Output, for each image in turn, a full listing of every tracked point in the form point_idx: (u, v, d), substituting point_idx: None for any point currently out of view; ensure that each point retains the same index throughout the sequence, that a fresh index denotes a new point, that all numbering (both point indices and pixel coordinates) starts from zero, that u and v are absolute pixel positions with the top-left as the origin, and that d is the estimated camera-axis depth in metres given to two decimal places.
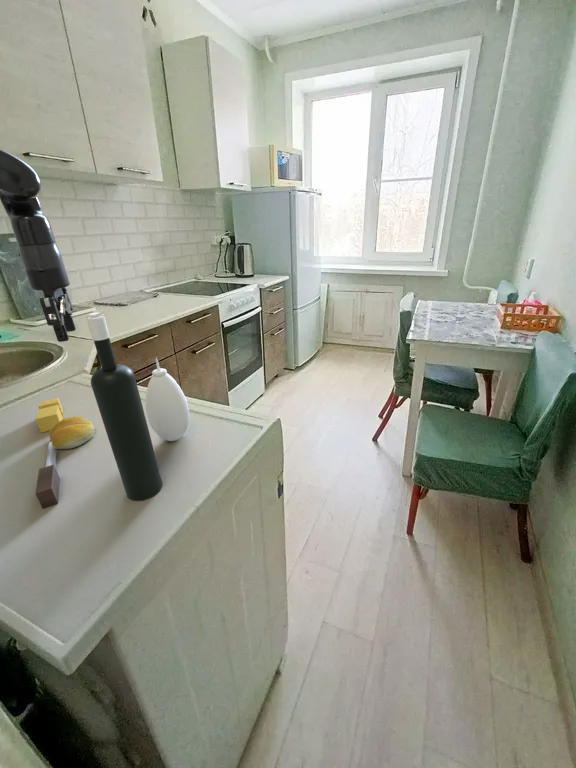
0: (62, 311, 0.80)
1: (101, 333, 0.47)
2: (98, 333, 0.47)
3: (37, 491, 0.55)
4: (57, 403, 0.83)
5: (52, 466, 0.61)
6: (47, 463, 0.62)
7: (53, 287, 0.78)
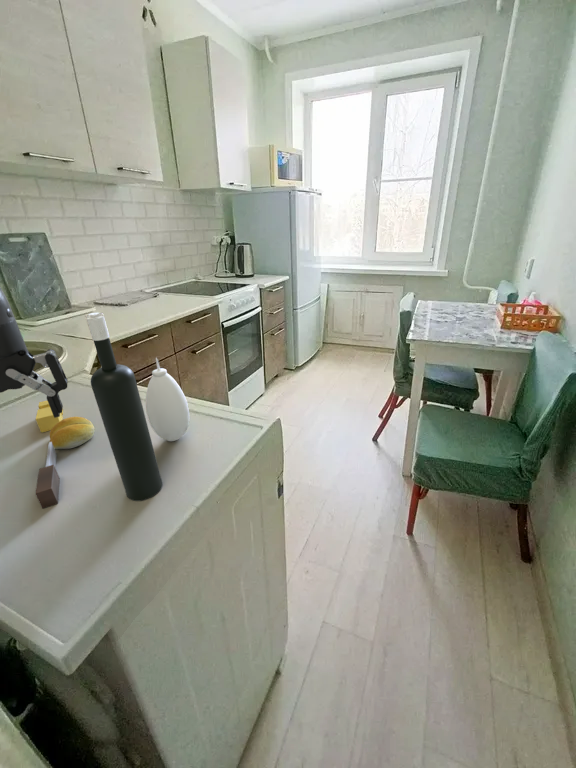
0: None
1: (101, 333, 0.47)
2: (98, 333, 0.47)
3: (37, 491, 0.55)
4: None
5: (52, 466, 0.61)
6: (47, 463, 0.62)
7: None
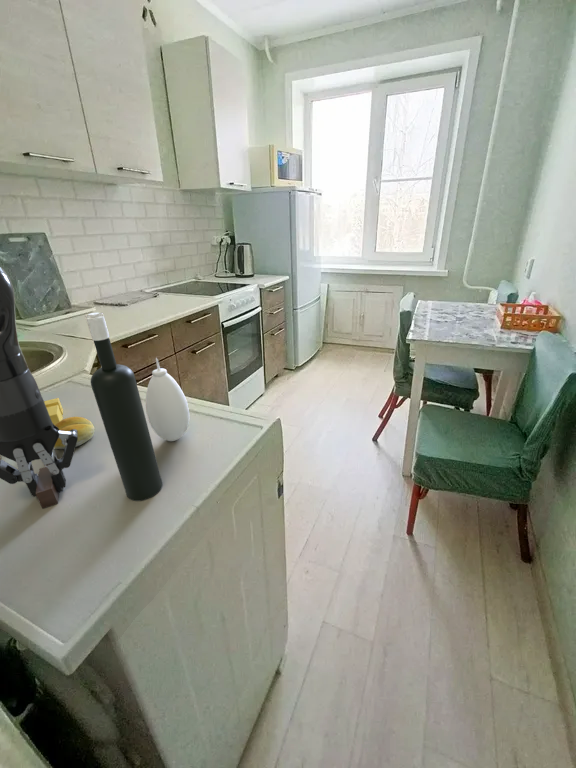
0: (19, 469, 0.54)
1: (101, 333, 0.47)
2: (98, 333, 0.47)
3: (37, 491, 0.55)
4: (57, 403, 0.83)
5: None
6: None
7: None
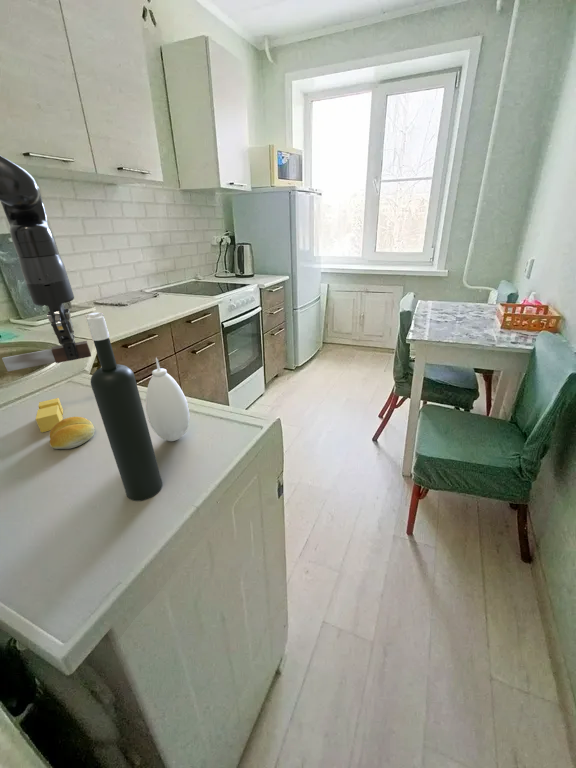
0: (71, 329, 0.76)
1: (101, 333, 0.47)
2: (98, 333, 0.47)
3: (85, 343, 0.79)
4: (57, 403, 0.83)
5: (54, 346, 0.78)
6: (45, 350, 0.77)
7: (60, 302, 0.72)
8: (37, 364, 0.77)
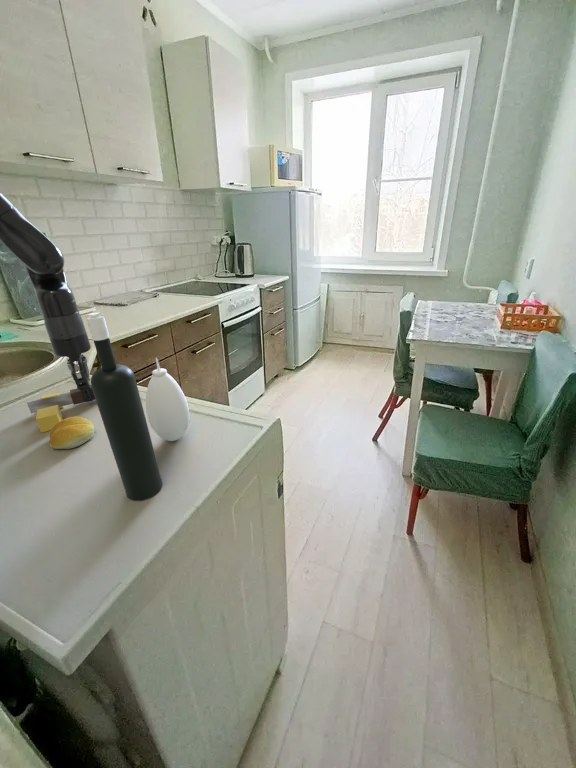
0: (88, 375, 0.85)
1: (101, 333, 0.47)
2: (98, 333, 0.47)
3: None
4: None
5: (72, 389, 0.87)
6: (64, 393, 0.86)
7: (79, 353, 0.81)
8: None
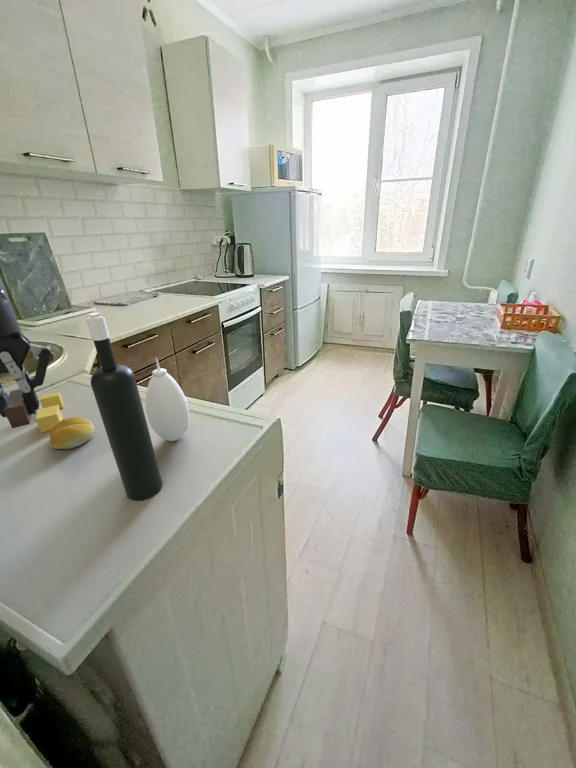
0: None
1: (101, 333, 0.47)
2: (98, 333, 0.47)
3: (6, 407, 0.50)
4: (58, 396, 0.86)
5: None
6: None
7: None
8: None
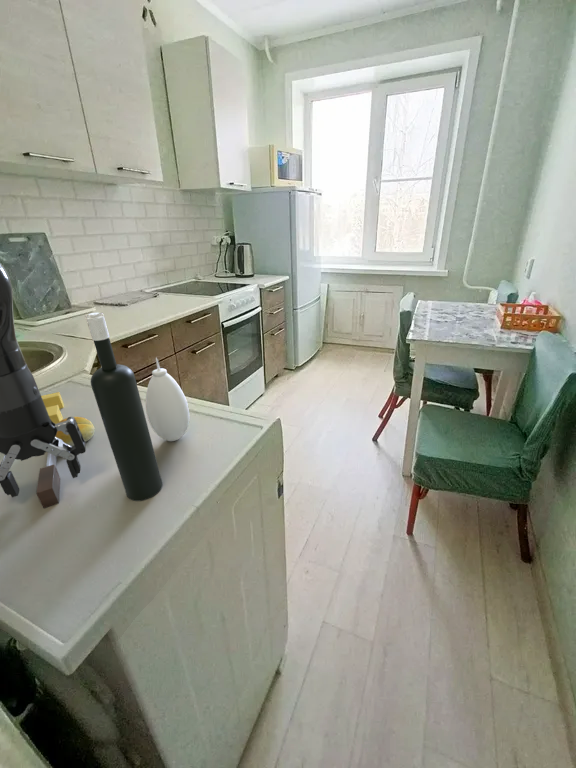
0: (2, 464, 0.53)
1: (101, 333, 0.47)
2: (98, 333, 0.47)
3: (38, 491, 0.55)
4: (58, 397, 0.86)
5: (53, 466, 0.61)
6: (48, 463, 0.62)
7: None
8: None
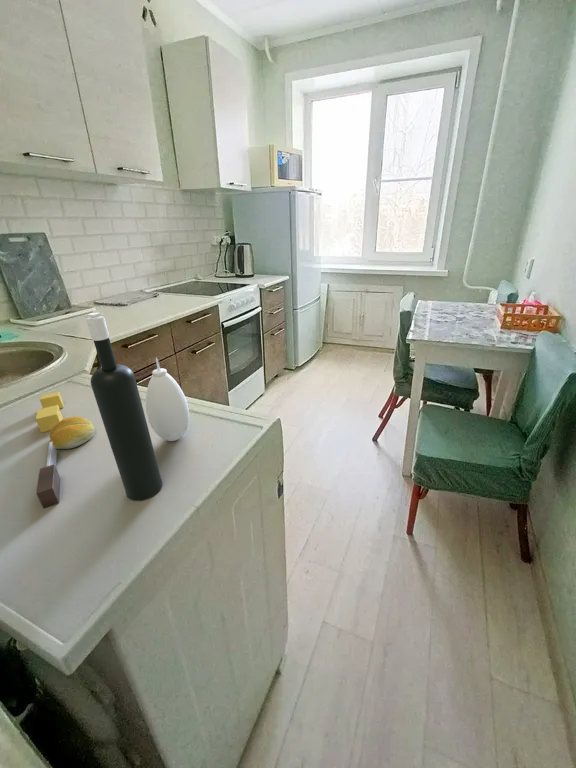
0: None
1: (101, 333, 0.47)
2: (98, 333, 0.47)
3: (38, 491, 0.55)
4: (58, 396, 0.86)
5: (53, 466, 0.61)
6: (48, 463, 0.62)
7: None
8: None
